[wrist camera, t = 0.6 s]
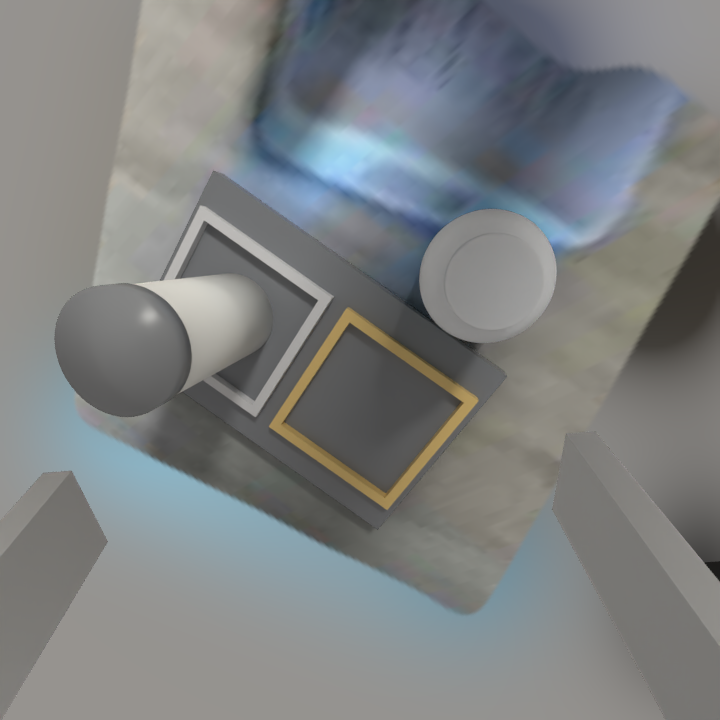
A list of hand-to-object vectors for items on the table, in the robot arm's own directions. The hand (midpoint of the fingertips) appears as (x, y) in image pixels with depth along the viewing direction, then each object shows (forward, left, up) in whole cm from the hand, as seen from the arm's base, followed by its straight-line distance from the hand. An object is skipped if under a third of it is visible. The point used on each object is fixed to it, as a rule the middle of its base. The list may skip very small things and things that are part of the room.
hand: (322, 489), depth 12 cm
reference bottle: (+7, -12, -23) cm, 27 cm away
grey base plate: (+7, -5, -25) cm, 26 cm away
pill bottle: (-7, +2, -25) cm, 26 cm away
